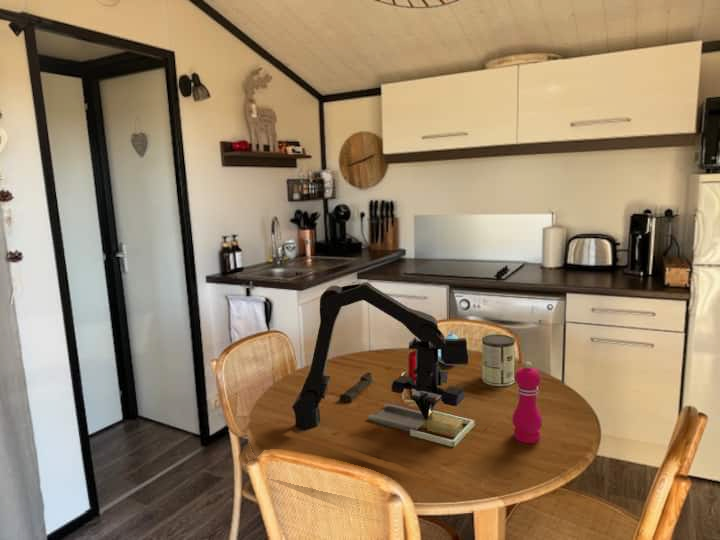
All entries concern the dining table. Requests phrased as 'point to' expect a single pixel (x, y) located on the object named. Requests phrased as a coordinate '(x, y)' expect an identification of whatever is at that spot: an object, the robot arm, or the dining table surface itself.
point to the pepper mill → (527, 405)
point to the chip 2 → (451, 426)
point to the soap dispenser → (450, 336)
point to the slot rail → (398, 417)
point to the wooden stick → (356, 388)
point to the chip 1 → (435, 422)
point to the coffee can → (498, 360)
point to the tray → (445, 441)
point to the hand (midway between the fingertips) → (427, 420)
